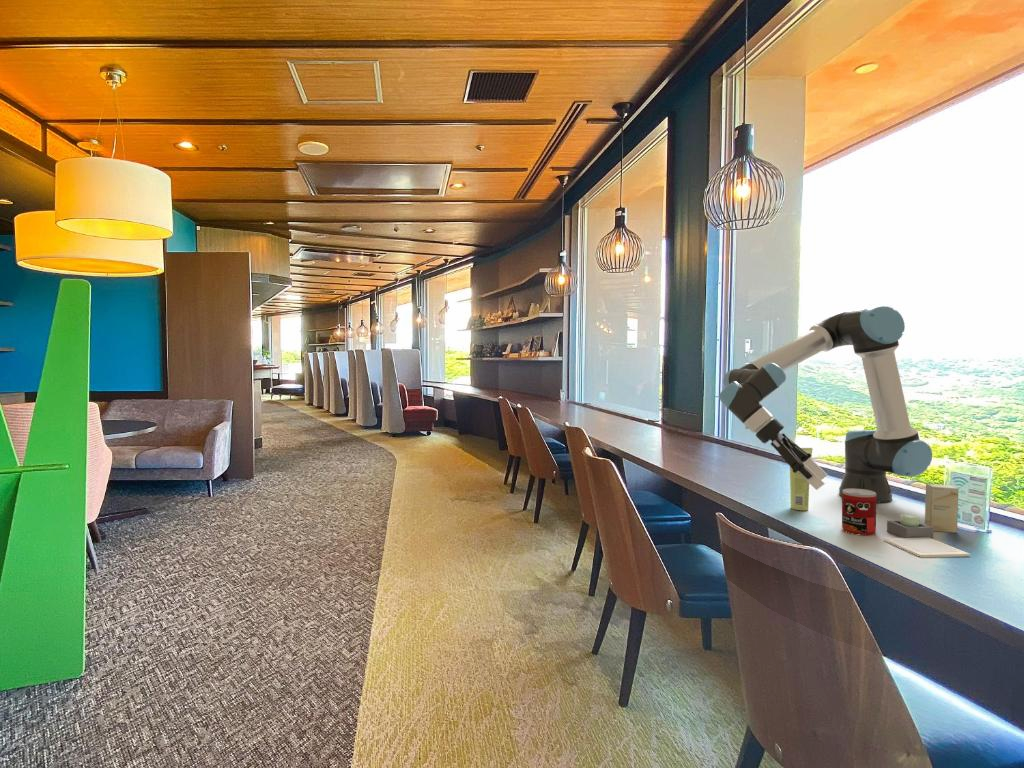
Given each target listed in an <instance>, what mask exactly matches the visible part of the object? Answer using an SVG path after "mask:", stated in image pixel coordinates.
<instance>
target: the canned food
mask: <svg viewBox="0 0 1024 768" xmlns="http://www.w3.org/2000/svg"><path fill="white" fill-rule="evenodd" d="M841 528H842V530H843V531H844V532H845V531H847V532H846V533H848V532H849V533H848V534H851V533H853V535H856V534H860V535H859V536H873V535H875V534H876V531H877V502H876V493H875V492H873V491H870V490H865V489H853V488H850V489H843V491H842V496H841Z"/></svg>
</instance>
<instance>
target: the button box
mask: <svg viewBox="0 0 1024 768" xmlns="http://www.w3.org/2000/svg"><path fill="white" fill-rule="evenodd" d="M886 532H888V533H889V534H893V535H895V536H897V537H899V536H900V537H899V538H902V537H903V538H931V539H934V531H933V527H930V526H927V525H925V523H921V522H919V527H906V526H904V525H901V524H900V519H894V520H892V519H891V520H890V519H889V520H886Z"/></svg>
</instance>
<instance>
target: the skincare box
mask: <svg viewBox="0 0 1024 768" xmlns="http://www.w3.org/2000/svg"><path fill="white" fill-rule="evenodd" d="M924 502H925V504H924V509H925V510H924V524H925V525H927V526H930V527H933V532H946V533H958V516H959V511H958V510H959V488H958V487H957V486H954V485H952V484H939V483H938V484H935V483H925V501H924Z"/></svg>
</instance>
